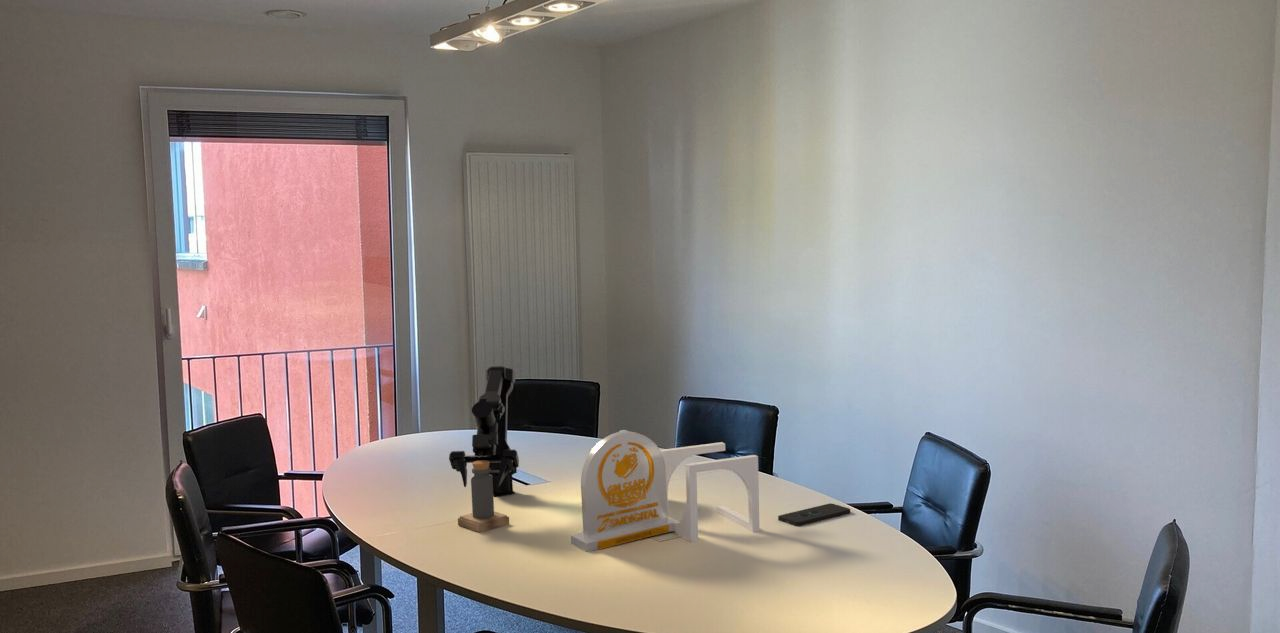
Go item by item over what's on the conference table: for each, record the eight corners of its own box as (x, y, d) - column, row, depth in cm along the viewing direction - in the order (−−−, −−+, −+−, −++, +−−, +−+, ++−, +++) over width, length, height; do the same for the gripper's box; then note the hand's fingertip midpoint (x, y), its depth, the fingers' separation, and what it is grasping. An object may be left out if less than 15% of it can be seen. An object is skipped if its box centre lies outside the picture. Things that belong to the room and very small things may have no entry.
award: (587, 552, 248) (582, 443, 246) (571, 543, 256) (565, 437, 253) (680, 530, 263) (676, 427, 260) (662, 522, 270) (658, 422, 268)
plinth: (487, 517, 281) (487, 508, 281) (509, 524, 274) (508, 515, 274) (458, 525, 275) (457, 516, 274) (479, 532, 267) (478, 523, 267)
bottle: (494, 517, 272) (492, 463, 271) (473, 519, 271) (470, 465, 270) (493, 511, 278) (491, 459, 276) (472, 513, 277) (469, 460, 275)
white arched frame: (658, 522, 272) (656, 450, 270) (723, 512, 280) (721, 442, 278) (691, 542, 254) (689, 465, 252) (759, 531, 262) (758, 456, 260)
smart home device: (776, 515, 271) (830, 502, 282) (776, 521, 271) (830, 508, 282) (797, 522, 264) (851, 508, 275) (797, 528, 264) (851, 514, 275)
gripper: (448, 422, 277) (442, 471, 267) (515, 421, 277) (511, 469, 267) (455, 444, 285) (449, 492, 275) (520, 442, 285) (517, 490, 275)
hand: (481, 486), depth 273 cm, fingers open, 9 cm apart
